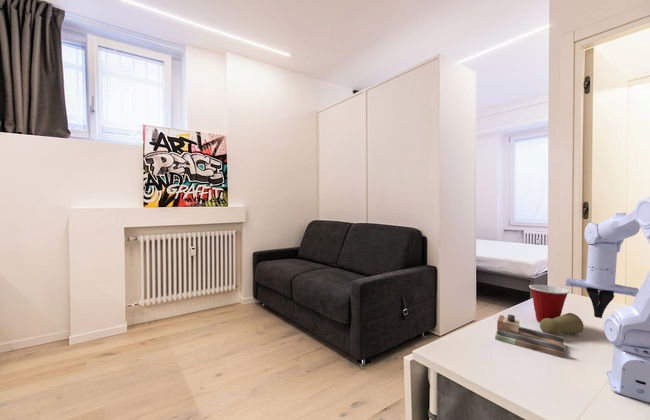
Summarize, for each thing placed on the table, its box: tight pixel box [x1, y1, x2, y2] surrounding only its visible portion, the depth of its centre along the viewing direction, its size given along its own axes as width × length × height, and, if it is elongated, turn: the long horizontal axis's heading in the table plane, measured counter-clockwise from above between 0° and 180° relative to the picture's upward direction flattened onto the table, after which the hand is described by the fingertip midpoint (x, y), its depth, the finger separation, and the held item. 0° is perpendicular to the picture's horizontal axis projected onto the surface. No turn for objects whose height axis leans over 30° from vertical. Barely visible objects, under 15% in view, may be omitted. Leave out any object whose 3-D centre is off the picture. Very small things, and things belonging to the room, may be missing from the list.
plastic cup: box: [528, 284, 570, 324], centre depth 99 cm, size 11×11×12 cm
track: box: [494, 315, 565, 359], centre depth 86 cm, size 16×9×5 cm, turn 52°
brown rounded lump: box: [539, 312, 585, 336], centre depth 91 cm, size 6×6×11 cm
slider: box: [502, 314, 520, 334], centre depth 89 cm, size 4×4×5 cm
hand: (597, 316), depth 81 cm, fingers closed
